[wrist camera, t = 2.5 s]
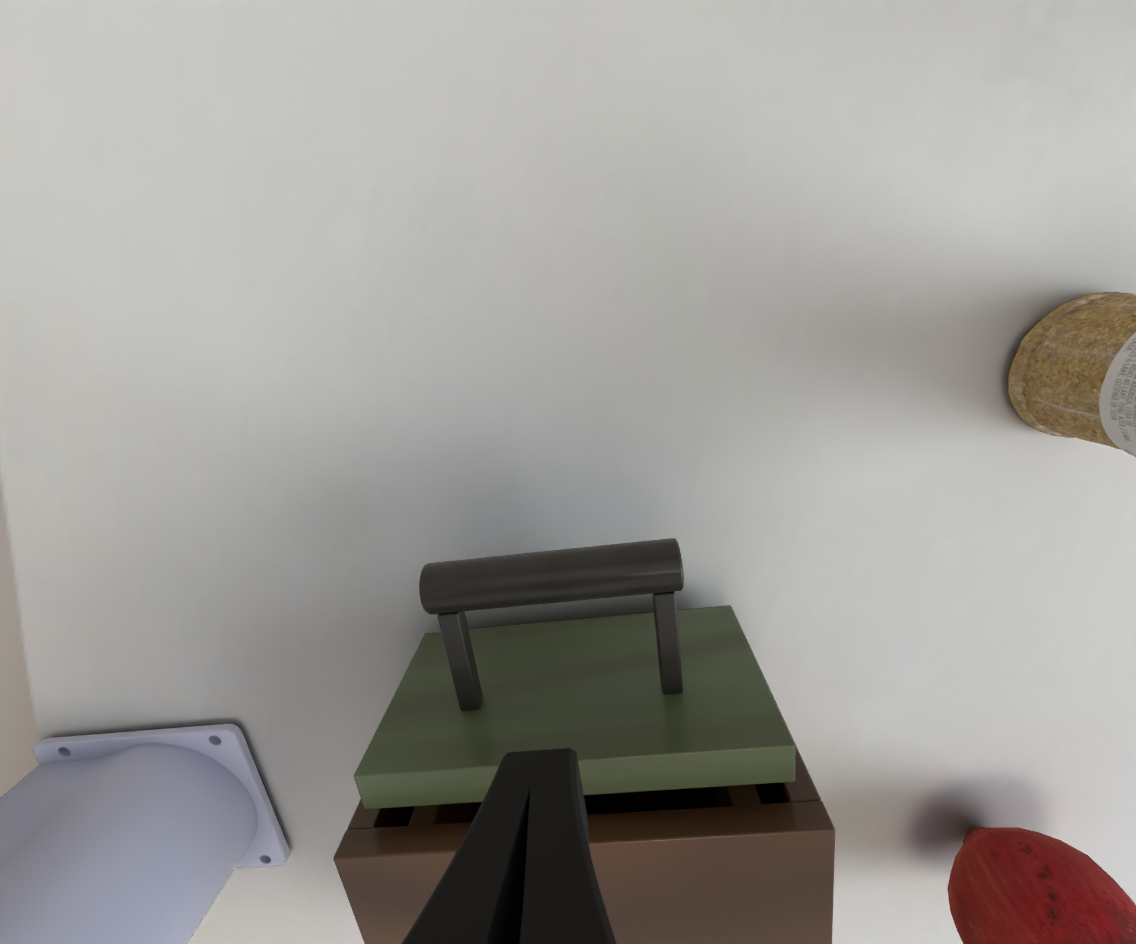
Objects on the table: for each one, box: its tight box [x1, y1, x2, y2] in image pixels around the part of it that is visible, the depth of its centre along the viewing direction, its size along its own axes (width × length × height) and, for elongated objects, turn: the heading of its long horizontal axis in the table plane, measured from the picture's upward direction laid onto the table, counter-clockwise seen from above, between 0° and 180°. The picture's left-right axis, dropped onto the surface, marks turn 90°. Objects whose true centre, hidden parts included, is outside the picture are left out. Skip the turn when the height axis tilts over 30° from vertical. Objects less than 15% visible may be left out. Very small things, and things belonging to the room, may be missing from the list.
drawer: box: [354, 538, 795, 826], centre depth 18 cm, size 18×11×6 cm, turn 8°
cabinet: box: [334, 639, 835, 944], centre depth 19 cm, size 15×13×8 cm
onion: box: [948, 827, 1136, 944], centre depth 19 cm, size 6×6×8 cm
